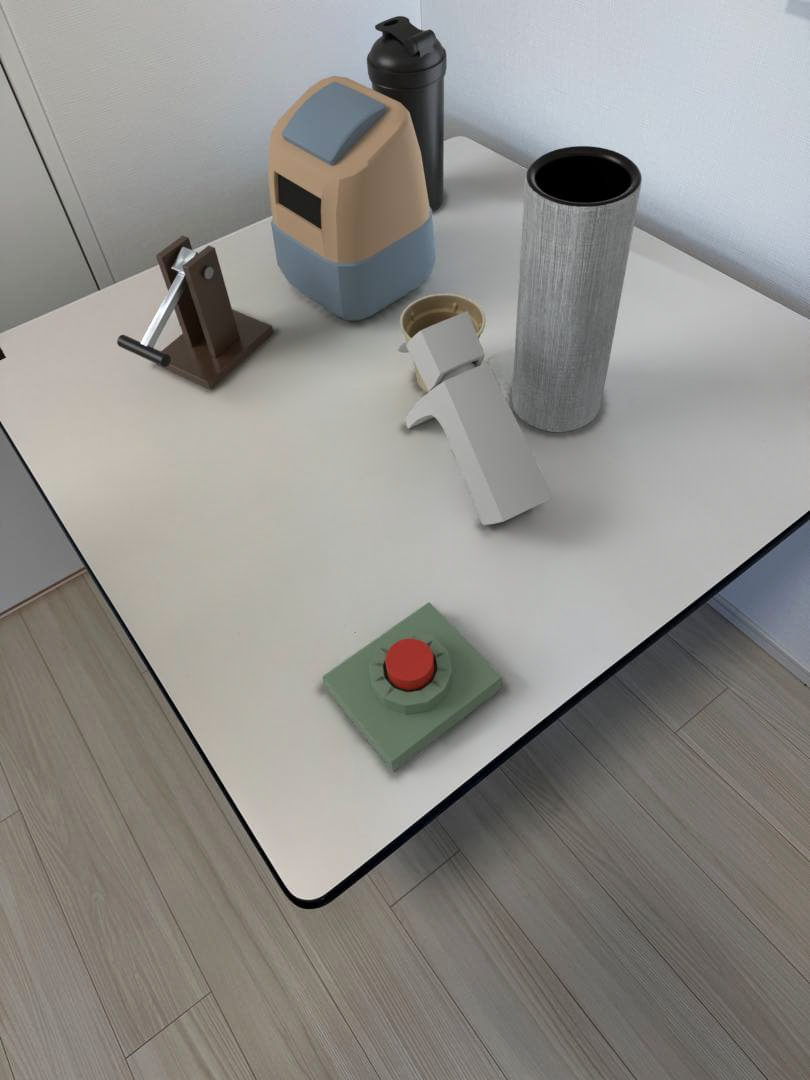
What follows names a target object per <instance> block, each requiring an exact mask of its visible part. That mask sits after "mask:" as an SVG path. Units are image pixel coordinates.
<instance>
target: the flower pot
mask: <svg viewBox="0 0 810 1080" xmlns="http://www.w3.org/2000/svg"><path fill="white" fill-rule="evenodd" d="M467 311H468V313H469V316H470V318H471V321H472V323H473V326H474V328H475V331H476V333H477V336H478V338H479V339H480V337H481V335H482V334H483V332H484V330H485V329H486V322H487V317H486V314H485V311H484V309H483V308H482V306H480V305H479V304H478V303H477V302H476V301H474V300H473V299H470V298H469V297H468V296H467V297H466V296H464V295H461V294H457V293H445V292H443V293H442V292H441V293H434V294H433V293H432V294H429V295H425V296H422V297H420V298H417V299H416V300H414V301H412V302H411V303H409V304H408V305H407V306H406V307H405V308H404V309H403V311H402V312H401V314H400V317H399V328H400V331H401V333H402V335H403V336H404V338H405V341H406V342H409V341H410V339H411V338H412V337H414V336H415V335H416V334H417V333H418V332H419V331H421V330H423V329H425V328H428V327H430V326H432V325H435V324H437V323H439V322H442V321H444V320H447V319H449V318H451V317H454V316H457V315H459V314H462V313H464V312H467ZM412 364H413V366H414V372H415V376H416V382H417V384H418V386H419V387H420V388H421V390H422V391H424V392H426V394H427V393H429V392H430V391H431V390H430V391H428V389H427V387H426V385H425V383H424V381H423V379H422V377H421V375H420V373H419V371H418V369H417V367H416V365H415V363H414V361H413V360H412Z"/></svg>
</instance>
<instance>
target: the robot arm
mask: <svg viewBox="0 0 810 1080" xmlns="http://www.w3.org/2000/svg"><path fill="white" fill-rule="evenodd" d="M6 358H7V356H6V354H5V353H4V351H3V349H2V347H1V346H0V361H2V360H4V359H6Z"/></svg>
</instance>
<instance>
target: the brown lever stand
mask: <svg viewBox="0 0 810 1080" xmlns="http://www.w3.org/2000/svg"><path fill="white" fill-rule="evenodd" d="M182 247H185V248H188V249H191V250H193V247H192V244H191V239H190V238H189V237H188V236H186V235H181V236H180V237H178V238H177V239H175V240H174V241H173V242H171V243H170V244H169V245H167V246H166V247H165V248H164V249H162V250H160V251H159V252H158V253H157V254H156V255H155V257H156V260H157V263H158V266H159V269H160V272H161V275H162V278H163V280H164V283H165V286H166V290H167V292H168V291H169V289H170V287H171V285H172V283H173V281H174V280H175V278H176V276H177V273H176V272H175V271H174V270H173V269H172V268H171V267H172V265H173V263H174V262H175V260H176V258H177V256H178V254H179V252H180V251H181V249H182ZM197 253H198V254H197V255H195V256H194V257H193V258H192V259H190V260H189V261H188V262H186V263H185V264H184V265H183V266H182V267H183V270H184V273H185V276H186V279H187V283H188V284H187V286H186V287H185V289H184V291H183V293H182V295H181V297H180V299H179V300H178V302H177V304H176V306H175V308H174V312H175V315H176V319H177V321H178V323H179V327H180V331H181V332H182V334H180V335H179V336H178V337H177V338H175V339H174V340H173V341H171V342H170V343H169V344H168V345H167V346H166V347H165V348H164V349H162V350H160V351H161V352H163V353H165V354H167V355H169V356H170V358H171V362H170V364H169V365H168V366H167V367H162V366H160V365H158V364H156V366H159V367H160V368H162V369H164V370H166V371H169V372H171V373H173V374H176V375H177V376H179V377H182V378H184V379H186V380H189V381H191V382H193V383H194V384H197V385H198V386H201V387H203V388H206V389H208V390H212V389H213V388H214V387H215V386H217V385H218V384H219V383H220V382H221V381H222V380H223V379H224V378H225V377H227V376H228V375H230V373H231V372H232V371H233V370H234V369H236V368H237V367H238V366H239V365H240V364H242V362H243V361H244V360H246V359H247V358H248V357H249V356H250V355H251V354H252V353H253V352H255V350H257V349H258V348H260V346H261V345H263V343H264V342H265V341H267V340H269V338H270V337H271V336H272V335H273V334H274V329H273V325H271V324H269V323H266V322H264V321H262V320H259V319H256V318H254V317H253V316H249V315H247V314H244V313H242V312H240V311H237V310H235V309H233V307H232V304H231V300H230V297H229V294H228V289H227V286H226V283H225V279H224V275H223V272H222V268H221V265H220V261H219V258H218V257H219V256H218V254H217V250H216V247H214V246H212V245H207V246H205V247H204V248H203V249H202V250H201V251H199V252H197Z"/></svg>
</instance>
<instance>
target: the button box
mask: <svg viewBox="0 0 810 1080" xmlns="http://www.w3.org/2000/svg"><path fill="white" fill-rule="evenodd" d="M409 638H410V639H417V640H420V641H422V642H424V643H425V644H427V645H428V646H429V648H430V649H431V651H432V653H433V660H434V673H433V676H432V678H431V680H430V681H429V682H428V683H427V684H426V685H425V686H423V687H421V688H419V689H416V690H404V689H401V688H398V687H397V686H395V685H394V684H393V683H392V682H391V681H390V679H389V677H388V674H387V668H386V661H385V660H386V654H387V652H388V650H389V649H390V647H391V646H392V645H393V644H395V643H396V642H398V641H400V640H403V639H409ZM321 678H322V681H323V684H324V685H323V686H324V688H325V690H326V691H327V692H328V693H329V695H330V696H331V697H332V698H333V700H334V701H335V702H336V703H337V704H338V706H339V707H340V708H341V710H342V711H343V712H344V713H345V715H346V716H348V718H349V719H350V720H351V722H352V723H353V724H354V725H355V727H356V728H357V729H358V731H359V732H360V733H361V734H362V736H363V737H364V738H365V739H366V740H367V742H368V743H369V744H370V746H371V747H372V748H373V749H374V750H375V752H376V753H377V754H378V755H379V756H380V758H381V759H382V760H383V761H384V763H385V764H386V765H387V766H388V768H389V769H390V771H392V772H393V773H394V772H395V771H397V770H398V769H399V768H401V767H402V766H403V765H404V764H406V763H407V762H408V761H409V760H411V759H412V758H413V757H415V756H416V755H417V754H419V753H420V752H421V751H423V750H424V749H425V748H427V747H428V746H429V745H431V744H432V743H433V742H434V741H435V740H437V739H438V738H439V737H440V736H442V735H443V734H444V733H446V732H447V731H448V730H450V729H451V728H453V727H454V726H455V725H457V724H458V723H459V722H460V721H461V720H463V719H464V718H465V717H466V716H468V715H469V714H470V713H471V712H473V711H474V710H475V709H477V708H478V707H479V706H481V705H483V703H485V702H486V701H487V700H488V699H490V698H491V697H492V696H494V694H496V693H497V692H499V691H500V690H501V689H502V682H503V676H502V675H501V674H500V673H499V672H498V671H497V670H496V669H495V668H494V667H493V666H492V665H491V664H490V663H489V661H487V660H486V659H485V657H483V655H482V654H480V652H479V651H478V650H477V649H476V648H474V646H473V645H472V644H471V643H470V642H469V641H468V640H467V639H466V638H465V637H464V636H463V634H461V633H460V632H459V631H458V630H457V628H455V627H454V626H453V625H452V624H451V623H450V622H449V621H448V620H447V619H446V618H445V616H443V614H442V613H441V612H439V610H438V609H437V608H436V607H435V606H434V605H433V604H432V603H431V602H430V601H428V602H427V603H425V604H424V605H422V606H421V607H420V608H418V609H416V610H415V611H414V612H413V613H411V614H409V615H408V616H407V617H405V618H404V619H402V620H401V621H400V622H398V623H397V624H396V625H393V626H392V627H391V628H390V629H389V630H387V631H385V632H384V633H382V634H381V635H380V636H378V637H377V638H375V639H373V640H372V641H371V642H369V643H368V644H367V645H365V646H363V648H361V649H359V650H358V651H357V652H356V653H354V654H352V655H351V656H349V657H348V658H347V659H346V660H344V661H342V662H341V663H339V664H338V665H337V666H335V667H334V668H332V669H331V670H330V671H328V672H327V673H325V674H324V675H323V676H322V677H321Z"/></svg>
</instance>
